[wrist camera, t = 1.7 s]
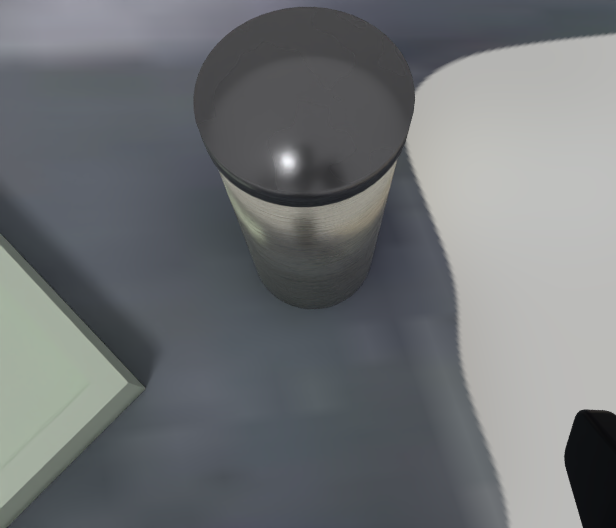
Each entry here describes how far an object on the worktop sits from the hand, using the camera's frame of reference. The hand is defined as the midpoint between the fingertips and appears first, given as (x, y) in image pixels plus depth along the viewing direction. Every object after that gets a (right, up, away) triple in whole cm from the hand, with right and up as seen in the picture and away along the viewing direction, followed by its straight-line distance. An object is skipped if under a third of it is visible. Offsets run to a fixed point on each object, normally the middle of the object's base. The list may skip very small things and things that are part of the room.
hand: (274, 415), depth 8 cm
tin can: (+1, +3, +15) cm, 15 cm away
